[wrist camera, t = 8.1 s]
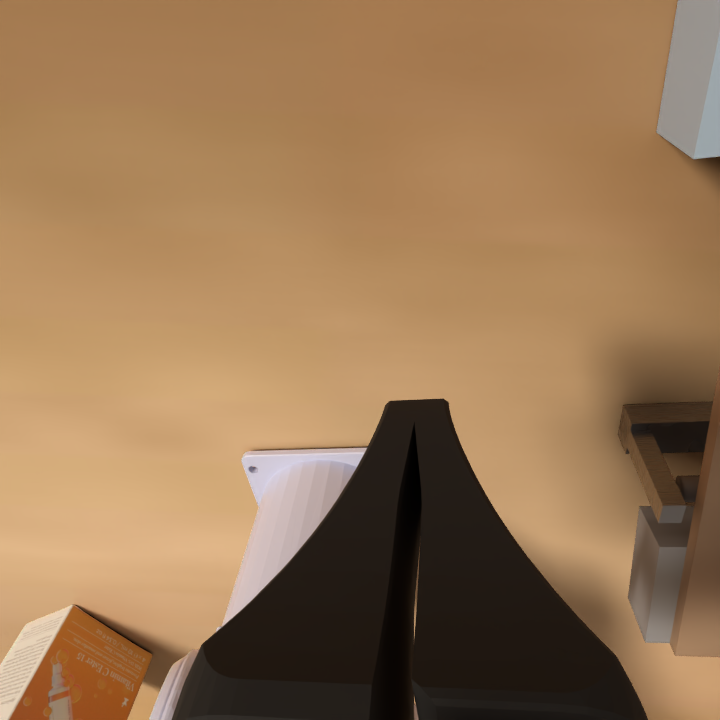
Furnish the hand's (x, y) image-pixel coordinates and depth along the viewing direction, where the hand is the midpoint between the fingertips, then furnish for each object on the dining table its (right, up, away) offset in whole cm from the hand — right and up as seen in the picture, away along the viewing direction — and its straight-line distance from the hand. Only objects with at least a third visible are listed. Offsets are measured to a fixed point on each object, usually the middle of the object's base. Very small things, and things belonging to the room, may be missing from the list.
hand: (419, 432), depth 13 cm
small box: (-22, -20, +30) cm, 42 cm away
